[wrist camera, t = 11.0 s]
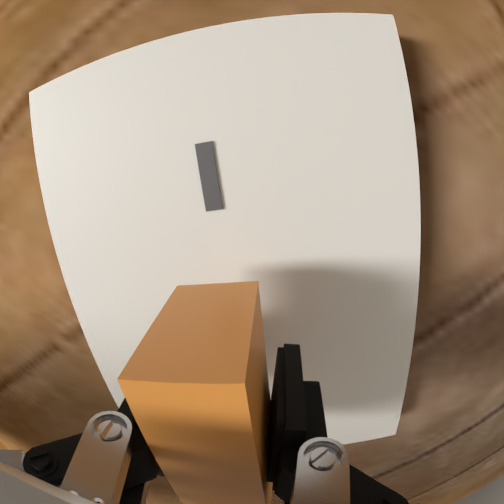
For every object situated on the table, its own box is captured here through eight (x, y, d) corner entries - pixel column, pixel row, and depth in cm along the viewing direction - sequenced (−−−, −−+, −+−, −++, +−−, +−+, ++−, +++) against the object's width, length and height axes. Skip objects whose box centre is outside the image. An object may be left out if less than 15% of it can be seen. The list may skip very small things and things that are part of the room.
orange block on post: (177, 285, 10) (113, 383, 5) (258, 280, 10) (243, 389, 5) (214, 434, 12) (194, 527, 8) (274, 434, 12) (270, 531, 7)
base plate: (149, 425, 18) (131, 470, 14) (54, 95, 12) (-2, 89, 8) (387, 411, 16) (403, 460, 13) (378, 30, 10) (412, -5, 7)
